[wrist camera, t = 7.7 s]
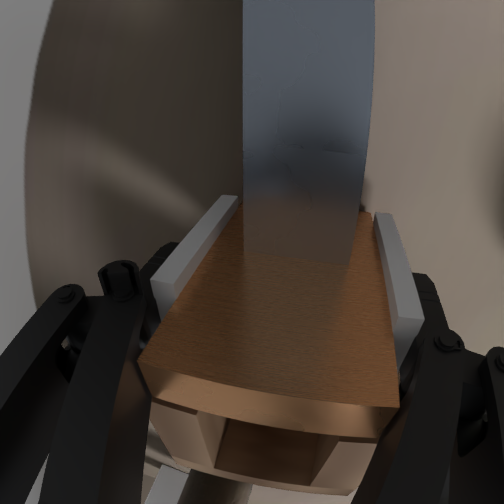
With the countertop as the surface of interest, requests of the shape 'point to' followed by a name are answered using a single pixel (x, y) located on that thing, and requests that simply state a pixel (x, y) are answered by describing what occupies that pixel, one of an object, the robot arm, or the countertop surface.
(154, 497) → the milk
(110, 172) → the countertop surface
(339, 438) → the socket
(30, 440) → the robot arm
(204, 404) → the brown and grey block
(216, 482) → the pillar candle
